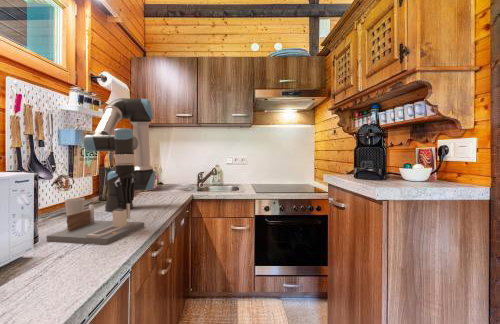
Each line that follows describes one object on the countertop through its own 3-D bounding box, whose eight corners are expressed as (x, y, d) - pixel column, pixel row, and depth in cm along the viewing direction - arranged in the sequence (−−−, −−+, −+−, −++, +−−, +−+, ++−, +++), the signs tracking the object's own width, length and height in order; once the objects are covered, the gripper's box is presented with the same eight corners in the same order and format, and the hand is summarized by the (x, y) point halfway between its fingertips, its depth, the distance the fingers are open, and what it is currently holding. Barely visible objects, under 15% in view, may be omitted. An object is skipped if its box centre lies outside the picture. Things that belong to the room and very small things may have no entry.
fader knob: (119, 224, 119) (118, 208, 119) (126, 225, 119) (126, 208, 118) (113, 227, 115) (112, 210, 115) (120, 227, 115) (120, 210, 114)
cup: (76, 227, 124) (75, 201, 124) (61, 227, 126) (60, 200, 125) (89, 223, 132) (88, 198, 132) (75, 222, 134) (74, 197, 133)
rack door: (90, 223, 123) (90, 209, 123) (69, 230, 112) (69, 215, 112) (85, 223, 124) (85, 209, 123) (64, 230, 112) (63, 215, 112)
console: (94, 224, 129) (93, 203, 129) (144, 226, 124) (143, 204, 124) (46, 240, 106) (45, 214, 105) (106, 244, 100) (105, 217, 100)
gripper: (126, 163, 127) (128, 214, 128) (106, 165, 115) (108, 221, 115) (141, 163, 126) (142, 215, 127) (122, 165, 113) (124, 222, 114)
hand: (126, 218), depth 121 cm, fingers closed
